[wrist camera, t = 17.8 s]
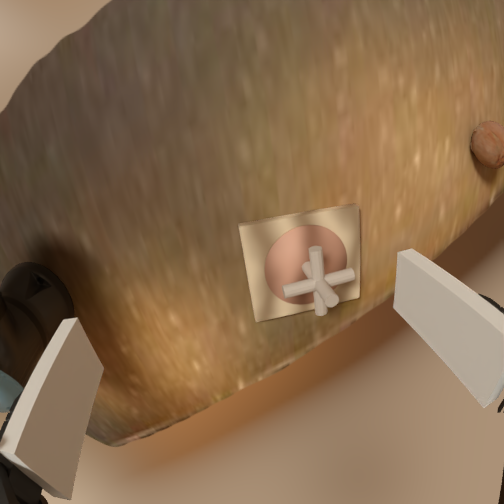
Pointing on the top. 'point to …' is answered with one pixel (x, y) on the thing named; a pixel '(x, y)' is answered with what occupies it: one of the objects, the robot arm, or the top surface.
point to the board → (299, 256)
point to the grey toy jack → (318, 282)
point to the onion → (489, 144)
